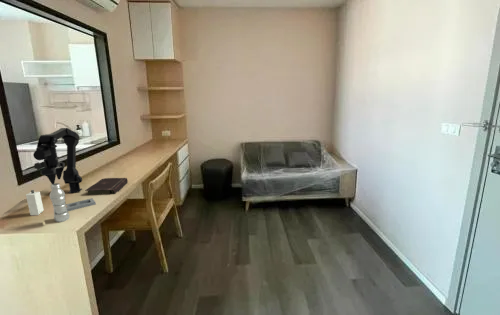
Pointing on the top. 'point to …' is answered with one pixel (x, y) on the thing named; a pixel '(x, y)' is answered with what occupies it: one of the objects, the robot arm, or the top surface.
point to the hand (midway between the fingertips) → (56, 181)
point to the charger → (34, 203)
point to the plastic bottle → (59, 203)
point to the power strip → (80, 204)
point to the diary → (107, 186)
